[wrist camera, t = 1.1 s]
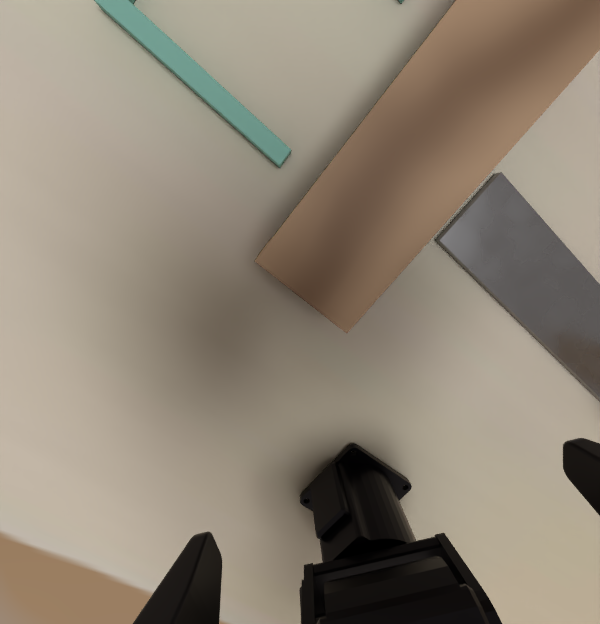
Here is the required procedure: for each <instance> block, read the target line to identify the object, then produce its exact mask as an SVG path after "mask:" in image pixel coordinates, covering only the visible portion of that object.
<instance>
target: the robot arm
mask: <svg viewBox="0 0 600 624" xmlns="http://www.w3.org/2000/svg"><path fill="white" fill-rule="evenodd" d="M354 450H355V452H351V451H354ZM563 469H564V472H565V474H566V476H567V477H568V479H569V480H570V481H571V482H572V483H573V485H574V486H575V487H576V488H577V489H578V491H579V492H580V493H581V494H582V495H583V496H584V498H585V499H586V500H587V501H588V502H589V504H590V505H591V506H592V507H593V508H594V509H595V511H596V512H597V513H598V514H599V515H600V444H599V443H596V442H593V441H590V440H588V439H584V438H578V439H574V440H570V441H566V442H565V443H564V444H563ZM404 485H405V486H404ZM411 487H412V486H411V484H410V482H409V480H408V479H407V478H405V477H404V476H402V475H401V474H399V473H398V472H396V471H395V470H393V469H392V468H390V467H389V466H387V465H386V464H384V463H383V462H381V461H380V460H378V459H377V458H376V457H374V456H373V455H371V454H370V453H368V452H367V451H365V450H364V449H362V448H361V447H359V446H358V445H356V444H351V445H349V446H347V447H346V448H345V450H344V451H343V452H342V453H341V454H340V455H339V456H338V457H337V458H336V459H335V460H334V461H333V462H332V463H331V464H329V465H328V466H327V467H326V468H325V470H324V471H323V472H322V473H321V474H320V475H319V476H318V477H317V478H316V479H315V480H314V481H313V482H312V483H311V484H310V485H309V486H308V487H307V488H306V489H305V490H304V491H303V492H302V493H301V495H300V503H301V504H302V505H303V506H305V507H306V508H308V509H310V510H312V511H313V513H314V521H315V530H316V537H317V538H318V539H320V545H321V553H322V560H323V563H319V564H315V565H313V563H311V564H306V565H304V580H302V587H301V588H300V605H301V624H502V622H501V620H500V618H499V616H498V614H497V612H496V610H495V609H494V607H493V605H492V603H491V601H490V600H489V598H488V596H487V595H486V593H485V592H484V590H483V589H482V587H481V586H480V584H479V583H478V581H477V580H476V578H475V577H474V576H473V574H472V573H471V571H470V570H469V568H468V567H467V565H466V564H465V563H464V561H463V560H462V558H461V557H460V555H459V554H458V552H457V551H456V550H455V548H454V547H453V545H452V544H451V542H450V541H449V539H448V538H447V537H446V535H445V534H444V533H440V534H436V535H435V537H431V538H427V539H423V540H418V541H416V539H415V537H414V535H413V532H412V530H411V528H410V525H409V523H408V521H407V518H406V516H405V514H404V511H403V509H402V507H401V504H400V502H399V500H400V499H401V498H402V497H403V496H404V495H405V494H407V493H408V492H409V491H410V489H411ZM221 577H222V558H221V554H220V551H219V549H218V547H217V544H216V542H215V540H214V537H213V535H212V533H210V532H204V533H200V534H196V535H194V536H193V537H192V538H191V539H190V541H189V542H188V544H187V545H186V547H185V548H184V550H183V551H182V553H181V554H180V555H179V557H178V558H177V560H176V561H175V563H174V564H173V566H172V567H171V569H170V570H169V571H168V573H167V574H166V576H165V577H164V579H163V580H162V582H161V583H160V585H159V586H158V588H157V589H156V590H155V592H154V593H153V595H152V596H151V598H150V599H149V601H148V602H147V604H146V605H145V607H144V608H143V609H142V611H141V612H140V614H139V615H138V617H137V618H136V620H135V621H134V623H133V624H219V614H220V595H221Z"/></svg>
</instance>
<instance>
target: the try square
mask: <svg viewBox="0 0 600 624" xmlns="http://www.w3.org/2000/svg"><path fill="white" fill-rule="evenodd" d="M435 241H436V242H437V243H438V244H439V245H440V246H441V247H442V248H443V249H445V250H446V251H447V252H448V253H449V254H450V255H451V256H452V257H453V258H454V259H455V260H456V261H457V262H458V263H459V264H460V265H461V266H462V267H463V268H464V269H465V270H466V271H467V272H468V273H469V274H470V275H471V276H472V277H473V278H474V279H475V280H476V281H477V282H478V283H479V284H480V285H481V286H482V287H483V288H484V289H485V290H486V291H487V292H488V293H489V294H491V295H492V296H493V297H494V298H495V299H496V300H497V301H498V302H499V303H500V304H501V305H502V306H503V307H504V308H505V309H506V310H507V311H508V312H509V313H510V314H511V315H512V316H513V317H514V318H515V319H516V320H517V321H518V322H519V323H520V324H521V325H522V326H523V327H524V328H525V329H526V330H527V331H528V332H529V333H530V334H531V335H532V336H533V337H534V338H535V339H536V340H538V341H539V342H540V343H541V344H542V345H543V346H544V347H545V348H546V349H547V350H548V351H549V352H550V353H551V354H552V355H553V356H554V357H555V358H556V359H557V360H558V361H559V362H560V363H561V364H562V365H563V366H564V367H565V368H566V369H567V370H568V371H569V372H570V373H571V374H572V375H573V376H574V377H575V378H576V379H577V380H578V381H579V382H580V383H581V384H582V385H583V386H585V387H586V388H587V389H588V390H589V391H590V392H591V393H592V394H593V395H594V396H595V397H596V398H597V399H598V400H599V401H600V284H599V283H598V282H597V281H596V280H595V279H594V277H593V276H592V275H591V274H590V273H589V272H588V271H587V270H586V268H585V267H584V266H583V265H582V264H581V263H580V262H579V260H578V259H577V258H576V257H575V256H574V255H573V254H572V252H571V251H570V250H569V249H568V248H567V247H566V246H565V244H564V243H563V242H562V241H561V240H560V239H559V238H558V236H557V235H556V234H555V233H554V232H553V231H552V230H551V228H550V227H549V226H548V225H547V224H546V223H545V222H544V221H543V219H542V218H541V217H540V216H539V215H538V214H537V213H536V211H535V210H534V209H533V208H532V207H531V206H530V205H529V203H528V202H527V201H526V200H525V199H524V198H523V197H522V195H521V194H520V193H519V192H518V191H517V190H516V189H515V187H514V186H513V185H512V184H511V183H510V182H509V181H508V179H507V178H506V177H505V176H504V175H503V174H502V173H496V174H494V175H493V176H492V177H491V178H490V179H489V181H488V182H487V183H486V184H485V185H484V186H483V187H482V188H481V189H480V190H479V192H478V193H477V194H476V195H475V196H474V197H473V198H472V199H471V200H470V202H469V203H468V204H467V205H466V206H465V207H464V208H463V209H462V210H461V212H460V213H459V214H458V215H457V216H456V217H455V218H454V219H453V220H452V221H451V223H450V224H449V225H448V226H447V227H446V228H445V229H444V230H443V231H442V233H441V234H440V235H439V236H438V237H437V238H436V239H435Z"/></svg>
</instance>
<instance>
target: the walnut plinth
mask: <svg viewBox="0 0 600 624" xmlns="http://www.w3.org/2000/svg"><path fill="white" fill-rule="evenodd" d="M599 50H600V0H456V1H455V2H454V3H453V4H452V6H451V7H450V8H449V10H448V11H447V12H446V14H445V15H444V16H443V17H442V19H441V20H440V21H439V23H438V24H437V25H436V26H435V28H434V29H433V30H432V32H431V33H430V34H429V35H428V37H427V38H426V39H425V41H424V42H423V43H422V45H421V46H420V47H419V48H418V50H417V51H416V52H415V54H414V55H413V56H412V57H411V59H410V60H409V61H408V63H407V64H406V65H405V67H404V68H403V69H402V70H401V72H400V73H399V74H398V76H397V77H396V78H395V79H394V81H393V82H392V83H391V85H390V86H389V87H388V89H387V90H386V91H385V92H384V94H383V95H382V96H381V98H380V99H379V100H378V101H377V103H376V104H375V105H374V107H373V108H372V109H371V111H370V112H369V113H368V114H367V116H366V117H365V118H364V120H363V121H362V122H361V123H360V125H359V126H358V127H357V129H356V130H355V131H354V133H353V134H352V135H351V136H350V138H349V139H348V140H347V142H346V143H345V144H344V145H343V147H342V148H341V149H340V151H339V152H338V153H337V155H336V156H335V157H334V158H333V160H332V161H331V162H330V164H329V165H328V166H327V167H326V169H325V170H324V171H323V173H322V174H321V175H320V177H319V178H318V179H317V180H316V182H315V183H314V184H313V186H312V187H311V188H310V189H309V191H308V192H307V193H306V195H305V196H304V197H303V198H302V200H301V201H300V202H299V204H298V205H297V206H296V208H295V209H294V210H293V211H292V213H291V214H290V215H289V217H288V218H287V219H286V220H285V222H284V223H283V224H282V226H281V227H280V228H279V230H278V231H277V232H276V233H275V235H274V236H273V237H271V239H270V240H269V241H268V243H267V244H266V245H265V247H264V248H263V249H262V250H261V252H260V253H259V255H258V256H257V258H256V260H255V262H256V263H257V264H259V265H260V266H261V267H263V268H264V269H265V270H266V271H268V272H269V273H270V274H271V275H273V276H274V277H275V278H277V279H278V280H279V281H280V282H282V283H283V284H284V285H285V286H287V287H288V288H289V289H291V290H292V291H293V292H294V293H296V294H297V295H298V296H300V297H301V298H302V299H303V300H305V301H306V302H307V303H308V304H310V305H311V306H312V307H314V308H315V309H316V310H317V311H319V312H320V313H321V314H322V315H324V316H325V317H326V318H328V319H329V320H330V321H331V322H333V323H334V324H335V325H337V326H338V327H339V328H340V329H342V330H343V331H344V332H345V333H348V332H349V330H350V329H351V328H352V327H353V326H354V325H355V324H356V323H357V321H358V320H359V319H360V318H361V317H362V316H363V315H364V314H365V313H366V311H367V310H368V309H369V308H370V307H371V306H372V305H373V304H374V302H375V301H376V300H377V299H378V298H379V297H380V296H381V295H382V293H383V292H384V291H385V290H386V289H387V288H388V287H389V286H390V284H391V283H392V282H393V281H394V280H395V279H396V278H397V277H398V275H399V274H400V273H401V272H402V271H403V270H404V269H405V268H406V266H407V265H408V264H409V263H410V262H411V261H412V260H413V259H414V257H415V256H416V255H417V254H418V253H419V252H420V251H421V250H422V248H423V247H424V246H425V245H426V244H427V243H428V242H429V241H430V240H431V238H432V237H433V236H434V235H435V234H436V233H437V232H438V231H439V229H440V228H441V227H442V226H443V225H444V224H445V223H446V222H447V220H448V219H449V218H450V217H451V216H452V215H453V214H454V213H455V211H456V210H457V209H458V208H459V207H460V206H461V205H462V204H463V202H464V201H465V200H466V199H467V198H468V197H469V196H470V195H471V193H472V192H473V191H474V190H475V189H476V188H477V187H478V186H479V184H480V183H481V182H482V181H483V180H484V179H485V178H486V177H487V175H488V174H489V173H490V172H491V171H492V170H493V169H494V168H495V166H496V165H497V164H498V163H499V162H500V161H501V160H502V159H503V158H504V156H505V155H506V154H507V153H508V152H509V151H510V150H511V149H512V147H513V146H514V145H515V144H516V143H517V142H518V141H519V140H520V138H521V137H522V136H523V135H524V134H525V133H526V132H527V131H528V129H529V128H530V127H531V126H532V125H533V124H534V123H535V122H536V120H537V119H538V118H539V117H540V116H541V115H542V114H543V113H544V111H545V110H546V109H547V108H548V107H549V106H550V105H551V104H552V102H553V101H554V100H555V99H556V98H557V97H558V96H559V95H560V93H561V92H562V91H563V90H564V89H565V88H566V87H567V86H568V85H569V83H570V82H571V81H572V80H573V79H574V78H575V77H576V76H577V74H578V73H579V72H580V71H581V70H582V69H583V68H584V67H585V65H586V64H587V63H588V62H589V61H590V60H591V59H592V58H593V56H594V55H595V54H596V53H597V52H598V51H599Z"/></svg>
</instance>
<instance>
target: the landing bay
mask: <svg viewBox="0 0 600 624" xmlns="http://www.w3.org/2000/svg"><path fill="white" fill-rule="evenodd" d="M94 1H95V2H96V3H97V4H98V5H99V7H100V8H101V9H102V10H103V11H104V12H105V13H106V14H107V15H109V16H110V17H111V18H112V19H113V20H114V21H115V22H116V23H118V24H119V25H120V26H121V27H122V28H123V29H124V30H125V31H127V32H128V33H129V34H130V35H131V36H132V37H133V38H134V39H136V40H137V41H138V42H139V43H140V44H141V45H142V46H143V47H144V48H146V49H147V50H148V51H149V52H150V53H151V54H152V55H153V56H155V57H156V58H157V59H158V60H159V61H160V62H161V63H162V64H164V65H165V66H166V67H167V68H168V69H169V70H170V71H171V72H173V73H174V74H175V75H176V76H177V77H178V78H179V79H180V80H182V81H183V82H184V83H185V84H186V85H187V86H188V87H189V88H191V89H192V90H193V91H194V92H195V93H196V94H197V95H198V96H199V97H201V98H202V99H203V100H204V101H205V102H206V103H207V104H208V105H210V106H211V107H212V108H213V109H214V110H215V111H216V112H217V113H219V114H220V115H221V116H222V117H223V118H224V119H225V120H226V121H228V122H229V123H230V124H231V125H232V126H233V127H234V128H235V129H237V130H238V131H239V132H240V133H241V134H242V135H243V136H244V137H245V138H247V139H248V140H249V141H250V142H251V143H252V144H253V145H254V146H256V147H257V148H258V149H259V150H260V151H261V152H262V153H263V154H265V155H266V156H267V157H268V158H269V159H270V160H271V161H272V162H274V163H275V164H276V165H277V166H278V167H279V168H280V167H281V166H282V164H283V163H284V161H285V160H286V159H287V157H288V156H289V155H290V153H291V149H290V148H289V147H288V146H286V145H285V144H284V143H283V142H282V141H281V140H280V139H279V138H278V137H277V136H276V135H274V134H273V133H272V132H271V131H270V130H269V129H268V128H267V127H266V126H265V125H264V124H263V123H261V122H260V121H259V120H258V119H257V118H256V117H255V116H254V115H253V114H252V113H251V112H249V111H248V110H247V109H246V108H245V107H244V106H243V105H242V104H241V103H240V102H239V101H237V100H236V99H235V98H234V97H233V96H232V95H231V94H230V93H229V92H228V91H227V90H226V89H224V88H223V87H222V86H221V85H220V84H219V83H218V82H217V81H216V80H215V79H214V78H212V77H211V76H210V75H209V74H208V73H207V72H206V71H205V70H204V69H203V68H202V67H200V66H199V65H198V64H197V63H196V62H195V61H194V60H193V59H192V58H191V57H190V56H188V55H187V54H186V53H185V52H184V51H183V50H182V49H181V48H180V47H179V46H178V45H177V44H175V43H174V42H173V41H172V40H171V39H170V38H169V37H168V36H167V35H166V34H165V33H163V32H162V31H161V30H160V29H159V28H158V27H157V26H156V25H155V24H154V23H153V22H151V21H150V20H149V19H148V18H147V17H146V16H145V15H144V14H143V13H142V12H141V11H140V10H138V9H137V8H136V7H135V6H134V5H133V3H134V2H135V0H94ZM398 1H399V2H400V3H401V4H402V2H403V1H404V0H398Z"/></svg>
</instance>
